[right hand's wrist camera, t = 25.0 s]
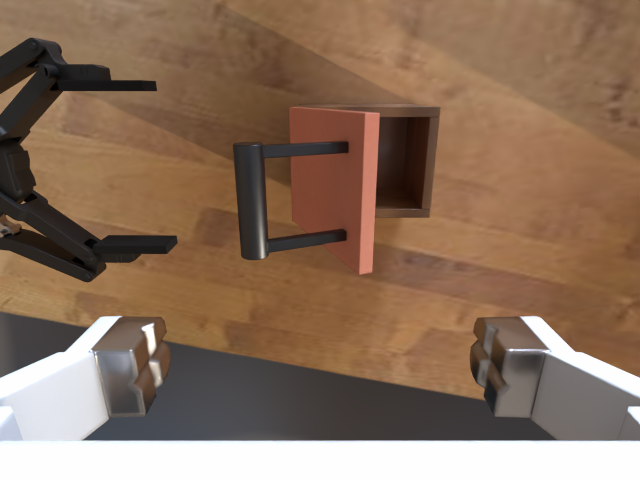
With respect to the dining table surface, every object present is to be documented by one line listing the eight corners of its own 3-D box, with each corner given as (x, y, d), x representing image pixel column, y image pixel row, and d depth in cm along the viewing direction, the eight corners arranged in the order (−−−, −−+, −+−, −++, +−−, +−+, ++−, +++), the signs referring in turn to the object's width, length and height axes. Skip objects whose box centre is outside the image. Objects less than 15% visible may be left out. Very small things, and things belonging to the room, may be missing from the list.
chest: (414, 103, 44) (441, 106, 34) (407, 193, 47) (429, 217, 38) (300, 104, 44) (294, 106, 34) (301, 193, 47) (297, 218, 38)
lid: (380, 112, 23) (239, 115, 20) (372, 272, 26) (251, 295, 23) (300, 106, 34) (203, 108, 31) (302, 219, 38) (214, 230, 35)
